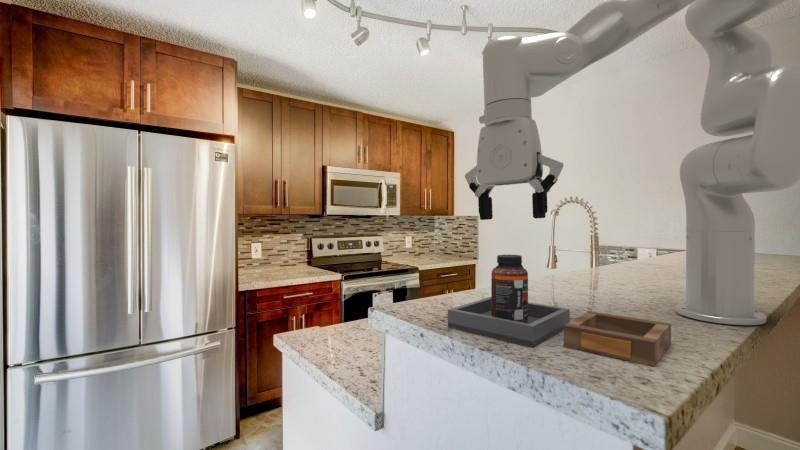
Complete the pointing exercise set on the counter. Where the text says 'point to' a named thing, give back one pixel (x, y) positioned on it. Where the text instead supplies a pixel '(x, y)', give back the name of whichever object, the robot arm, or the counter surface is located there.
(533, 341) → the tray
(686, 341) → the counter surface
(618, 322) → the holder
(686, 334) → the counter surface
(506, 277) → the supplement bottle
